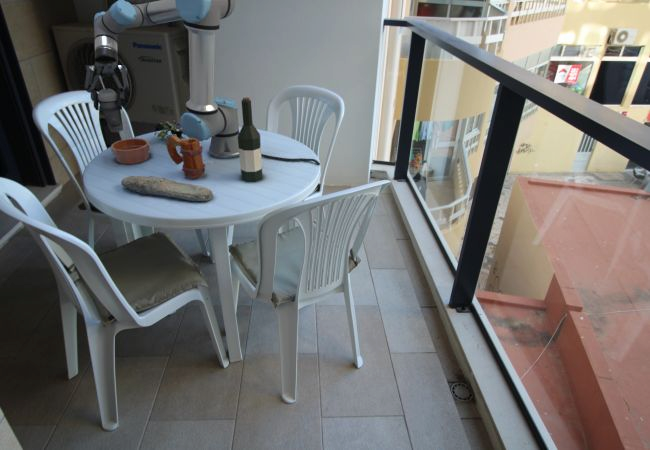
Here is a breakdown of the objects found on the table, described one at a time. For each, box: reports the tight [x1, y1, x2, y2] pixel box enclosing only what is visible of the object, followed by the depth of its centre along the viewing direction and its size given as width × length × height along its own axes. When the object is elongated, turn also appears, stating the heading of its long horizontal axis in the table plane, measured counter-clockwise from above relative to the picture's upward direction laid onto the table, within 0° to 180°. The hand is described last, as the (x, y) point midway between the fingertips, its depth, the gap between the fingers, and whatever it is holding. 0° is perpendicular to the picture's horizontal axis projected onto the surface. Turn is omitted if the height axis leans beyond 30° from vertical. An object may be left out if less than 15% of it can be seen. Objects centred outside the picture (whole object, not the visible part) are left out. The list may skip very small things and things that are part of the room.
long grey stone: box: [120, 175, 214, 202], centre depth 137 cm, size 35×5×10 cm
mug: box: [166, 134, 206, 180], centre depth 147 cm, size 15×8×15 cm, turn 71°
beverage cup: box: [97, 76, 124, 133], centre depth 145 cm, size 7×7×20 cm
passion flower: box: [153, 120, 186, 142], centre depth 179 cm, size 11×11×12 cm
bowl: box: [110, 137, 151, 165], centre depth 162 cm, size 14×14×6 cm
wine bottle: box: [238, 97, 263, 183], centre depth 143 cm, size 8×8×30 cm
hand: (108, 108), depth 143 cm, fingers closed on beverage cup, 7 cm apart
